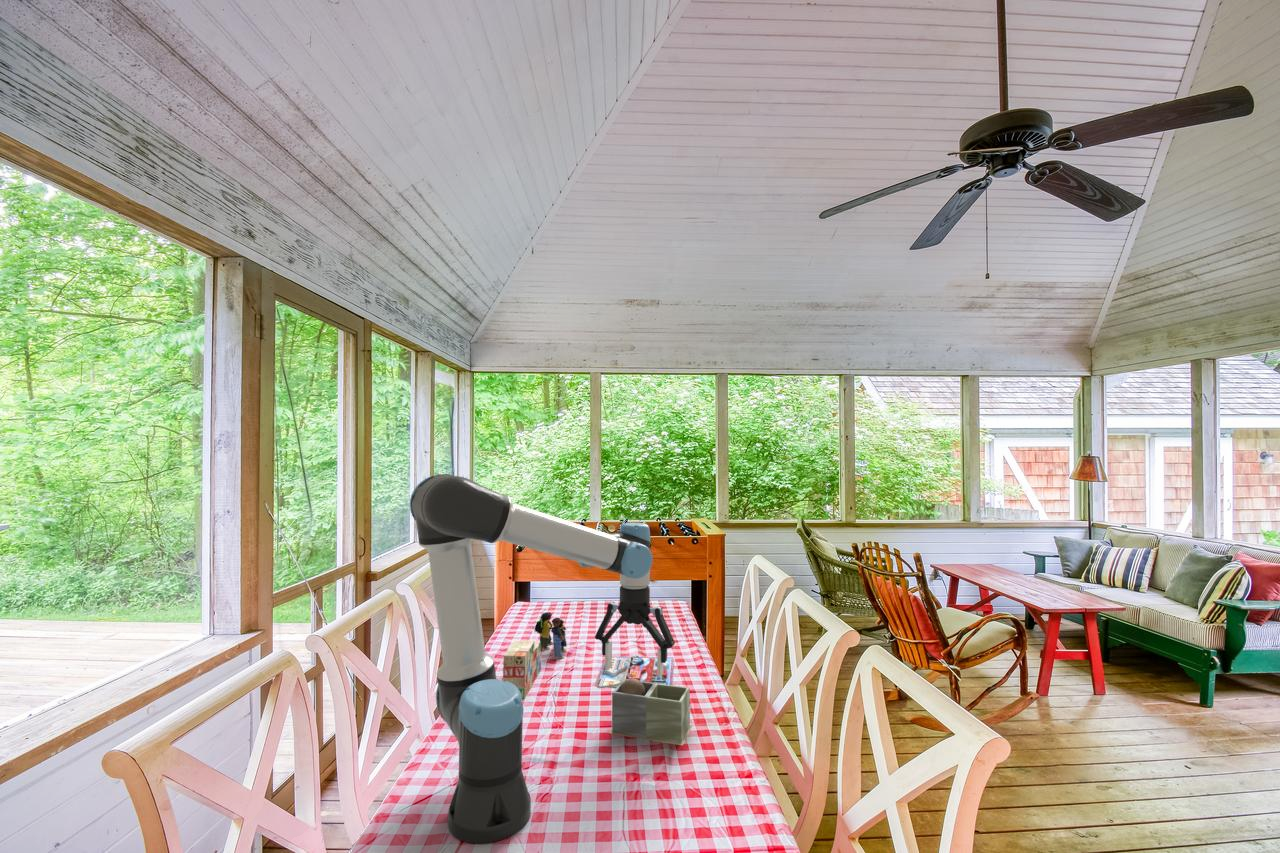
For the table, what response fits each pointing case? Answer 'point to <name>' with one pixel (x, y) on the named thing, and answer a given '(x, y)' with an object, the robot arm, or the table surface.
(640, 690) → the walnut ball
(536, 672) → the stack of blocks
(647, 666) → the puzzle board
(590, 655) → the table surface
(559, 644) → the doll family
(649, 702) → the divided open bin
